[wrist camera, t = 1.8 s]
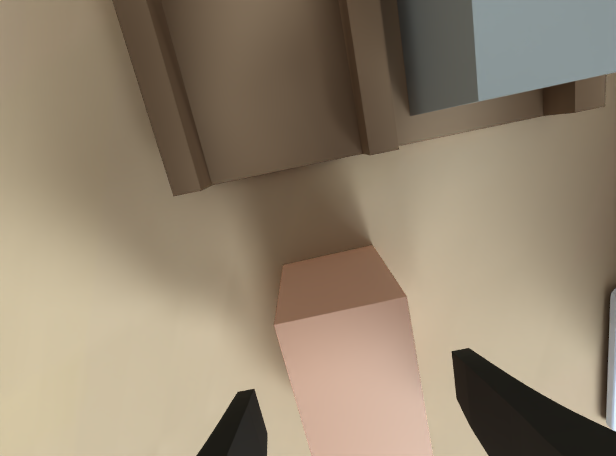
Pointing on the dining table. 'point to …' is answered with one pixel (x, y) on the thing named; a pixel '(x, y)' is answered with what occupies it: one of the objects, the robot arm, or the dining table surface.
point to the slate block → (501, 47)
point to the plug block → (351, 356)
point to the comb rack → (293, 86)
